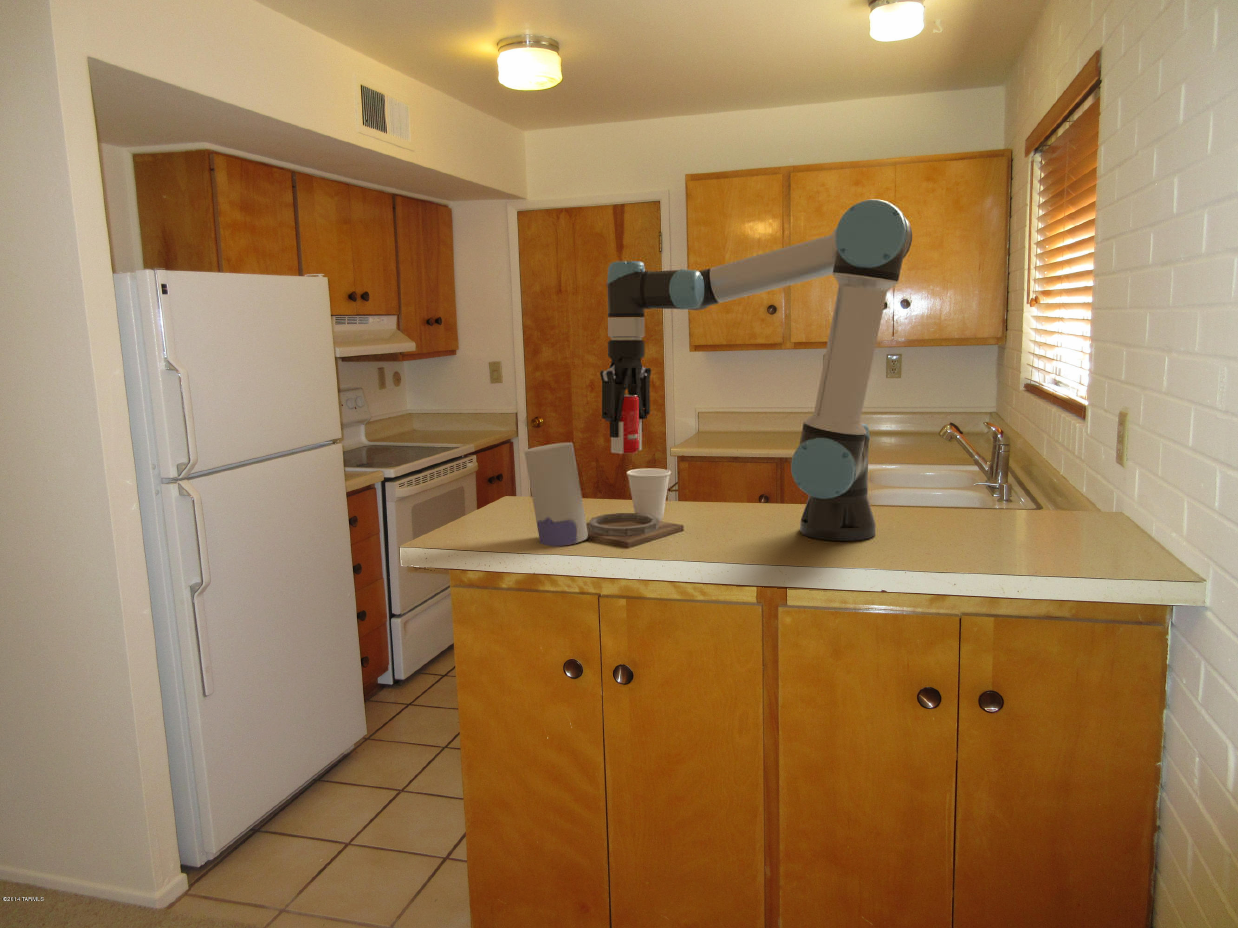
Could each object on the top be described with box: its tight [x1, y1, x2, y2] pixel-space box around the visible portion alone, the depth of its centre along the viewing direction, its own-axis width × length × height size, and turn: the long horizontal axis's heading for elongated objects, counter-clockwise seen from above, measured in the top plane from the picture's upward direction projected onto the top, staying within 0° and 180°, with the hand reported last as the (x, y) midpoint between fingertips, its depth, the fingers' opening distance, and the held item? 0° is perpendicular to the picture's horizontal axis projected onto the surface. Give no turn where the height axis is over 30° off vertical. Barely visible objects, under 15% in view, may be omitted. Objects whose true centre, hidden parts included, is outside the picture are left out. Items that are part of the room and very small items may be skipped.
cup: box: [626, 467, 672, 521], centre depth 191 cm, size 10×10×11 cm
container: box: [524, 442, 588, 547], centre depth 175 cm, size 10×10×20 cm
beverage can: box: [620, 393, 639, 455], centre depth 177 cm, size 5×5×12 cm
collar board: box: [585, 512, 685, 549], centre depth 180 cm, size 18×18×3 cm
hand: (626, 451), depth 178 cm, fingers closed on beverage can, 5 cm apart
